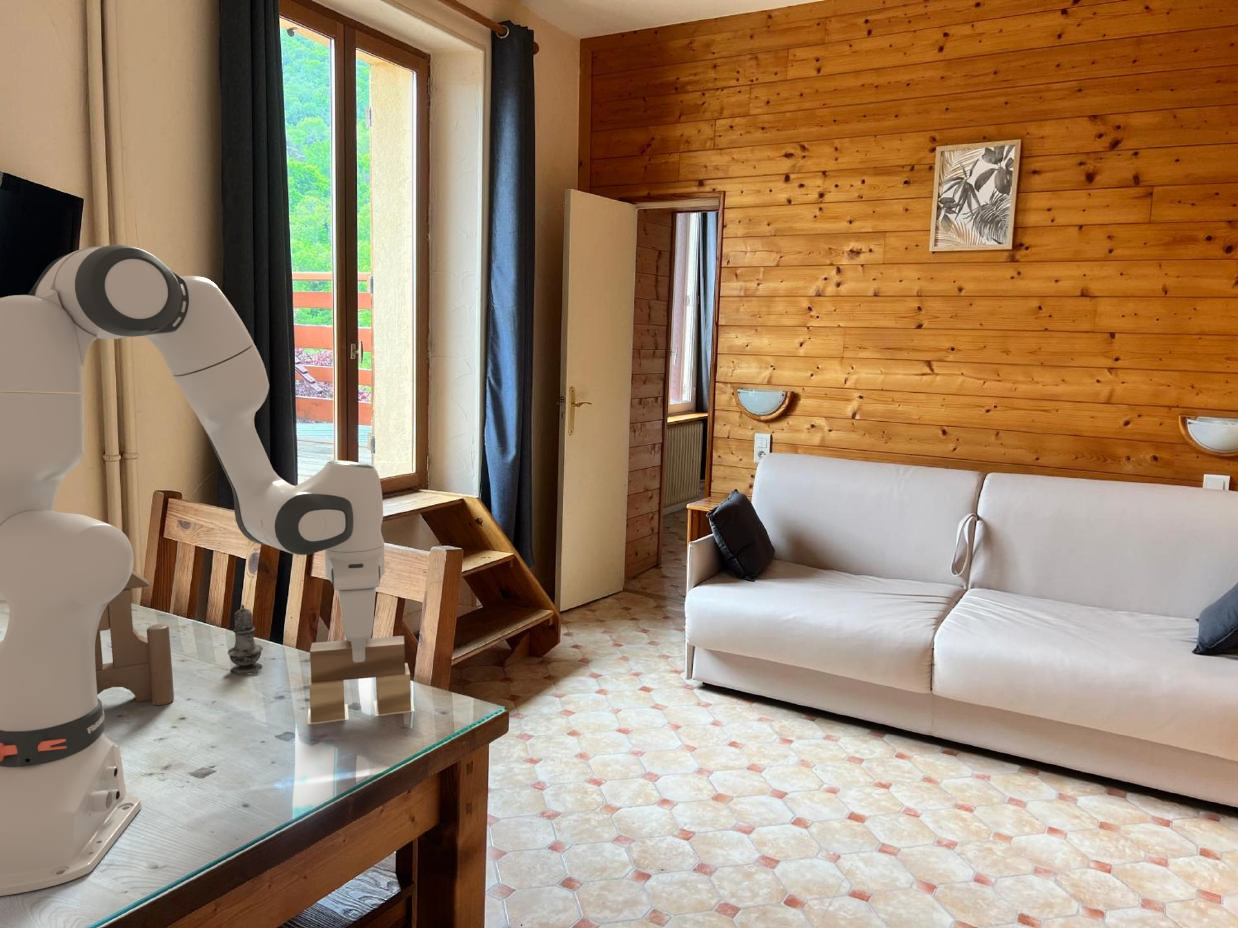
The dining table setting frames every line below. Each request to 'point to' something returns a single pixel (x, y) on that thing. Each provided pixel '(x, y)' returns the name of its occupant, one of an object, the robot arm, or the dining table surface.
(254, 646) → the salt shaker
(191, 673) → the dining table surface
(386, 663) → the wooden block
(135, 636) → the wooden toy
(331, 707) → the pillar near
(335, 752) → the dining table surface
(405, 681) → the pillar far
